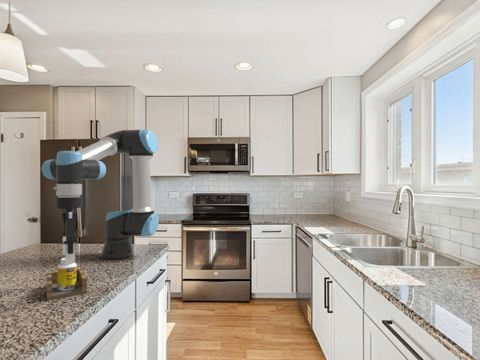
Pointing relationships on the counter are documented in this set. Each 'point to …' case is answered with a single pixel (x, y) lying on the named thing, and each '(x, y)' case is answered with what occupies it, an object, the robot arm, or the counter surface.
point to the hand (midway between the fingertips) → (68, 258)
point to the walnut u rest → (79, 289)
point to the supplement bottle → (66, 276)
